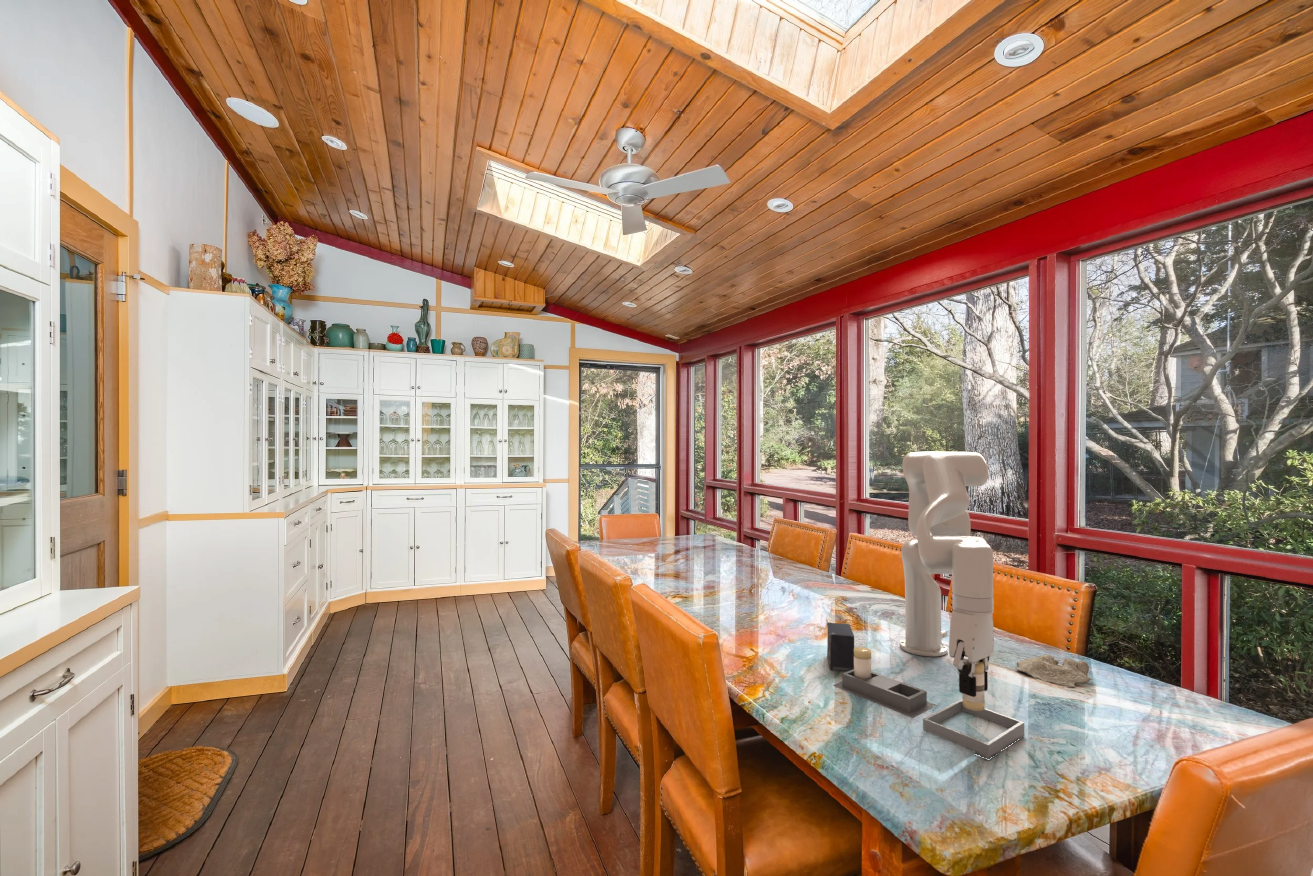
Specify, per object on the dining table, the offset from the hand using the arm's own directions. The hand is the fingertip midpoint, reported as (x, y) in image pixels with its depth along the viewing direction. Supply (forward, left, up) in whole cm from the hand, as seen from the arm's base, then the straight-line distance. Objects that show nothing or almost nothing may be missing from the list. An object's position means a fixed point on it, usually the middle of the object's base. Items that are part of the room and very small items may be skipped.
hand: (973, 690), depth 123 cm
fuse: (0, -27, -8) cm, 28 cm away
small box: (-8, -39, -10) cm, 41 cm away
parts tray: (0, 0, -9) cm, 9 cm away
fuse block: (0, -21, -9) cm, 23 cm away
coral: (-48, -4, -10) cm, 49 cm away
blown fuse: (0, 0, -3) cm, 3 cm away
